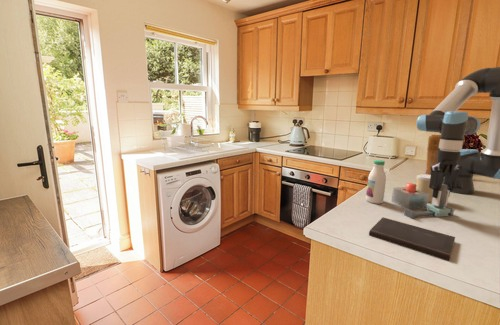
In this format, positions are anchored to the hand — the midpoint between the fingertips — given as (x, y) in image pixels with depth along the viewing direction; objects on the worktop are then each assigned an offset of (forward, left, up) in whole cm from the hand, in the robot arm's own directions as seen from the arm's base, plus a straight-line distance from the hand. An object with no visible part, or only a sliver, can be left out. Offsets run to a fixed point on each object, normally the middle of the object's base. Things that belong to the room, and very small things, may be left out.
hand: (439, 204), depth 112 cm
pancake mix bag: (-62, -56, -5) cm, 84 cm away
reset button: (+4, -12, -1) cm, 13 cm away
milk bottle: (+17, -19, -5) cm, 26 cm away
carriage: (0, 0, -5) cm, 5 cm away
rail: (+5, 0, -5) cm, 6 cm away
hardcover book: (+28, +16, -5) cm, 33 cm away
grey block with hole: (+4, -12, -5) cm, 13 cm away
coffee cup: (-10, -17, -5) cm, 21 cm away
